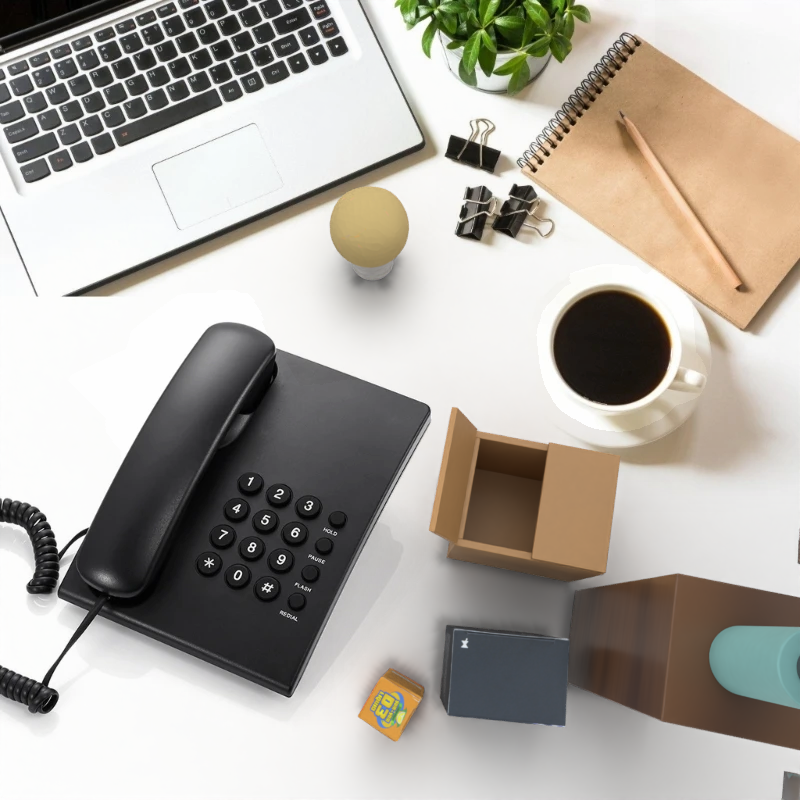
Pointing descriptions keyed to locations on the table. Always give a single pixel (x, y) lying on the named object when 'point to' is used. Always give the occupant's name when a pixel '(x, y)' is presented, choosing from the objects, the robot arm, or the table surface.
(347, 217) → the light bulb
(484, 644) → the box
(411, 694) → the supplement box
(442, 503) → the flap
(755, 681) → the teal plastic cylinder
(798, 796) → the robot arm
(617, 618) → the stand
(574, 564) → the carton
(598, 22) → the table surface
